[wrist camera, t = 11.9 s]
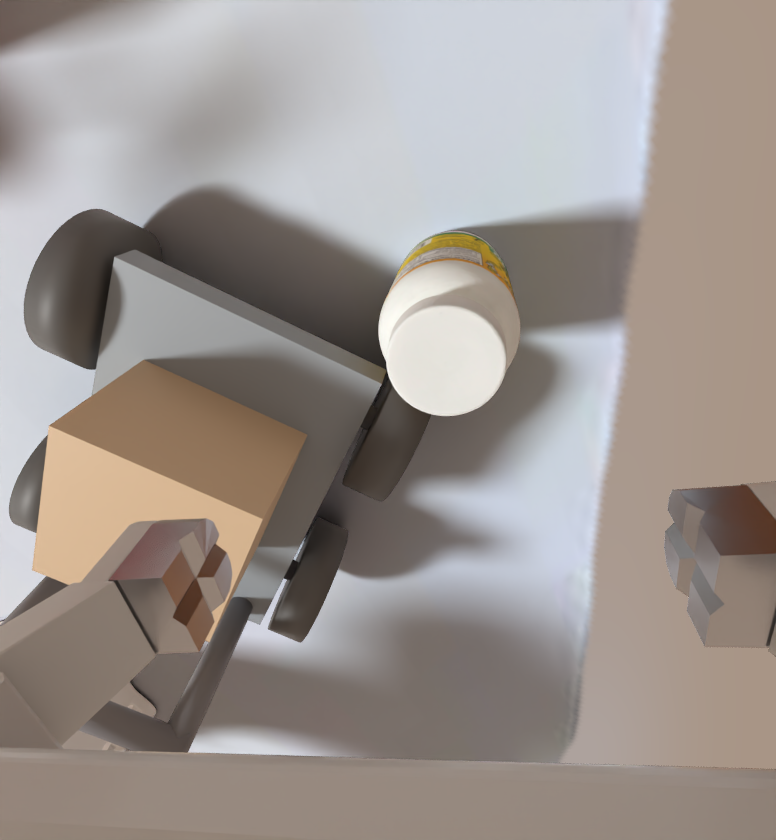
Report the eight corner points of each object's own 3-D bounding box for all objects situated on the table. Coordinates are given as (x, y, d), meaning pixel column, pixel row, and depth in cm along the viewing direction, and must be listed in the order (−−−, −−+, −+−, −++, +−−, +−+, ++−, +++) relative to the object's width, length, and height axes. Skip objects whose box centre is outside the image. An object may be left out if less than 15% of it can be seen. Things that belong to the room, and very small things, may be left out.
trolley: (318, 576, 36) (241, 807, 24) (86, 477, 35) (-126, 668, 22) (444, 351, 27) (424, 538, 14) (135, 200, 25) (-186, 265, 13)
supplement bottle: (397, 229, 24) (361, 279, 16) (513, 228, 24) (538, 281, 15) (399, 338, 27) (368, 430, 19) (503, 340, 26) (520, 437, 18)
